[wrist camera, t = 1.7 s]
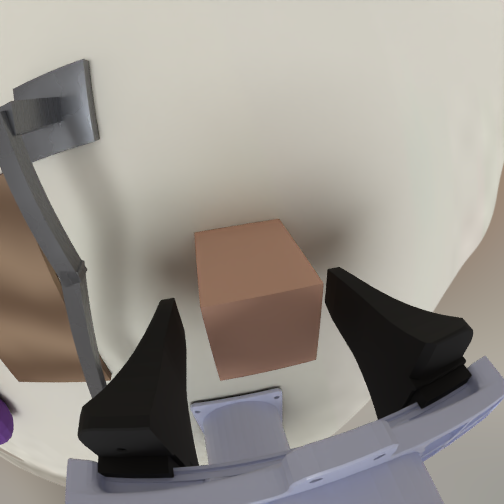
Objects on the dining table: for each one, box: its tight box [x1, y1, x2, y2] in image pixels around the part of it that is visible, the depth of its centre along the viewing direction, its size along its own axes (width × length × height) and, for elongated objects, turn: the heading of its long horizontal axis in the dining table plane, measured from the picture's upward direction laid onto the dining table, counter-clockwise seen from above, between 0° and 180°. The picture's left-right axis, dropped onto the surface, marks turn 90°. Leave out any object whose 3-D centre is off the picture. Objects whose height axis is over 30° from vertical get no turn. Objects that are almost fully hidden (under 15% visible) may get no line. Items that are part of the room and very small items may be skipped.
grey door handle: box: [0, 59, 107, 398], centre depth 13 cm, size 24×4×5 cm, turn 5°
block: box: [194, 219, 323, 381], centre depth 14 cm, size 4×4×6 cm
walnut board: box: [0, 173, 112, 382], centre depth 14 cm, size 16×10×1 cm, turn 5°
